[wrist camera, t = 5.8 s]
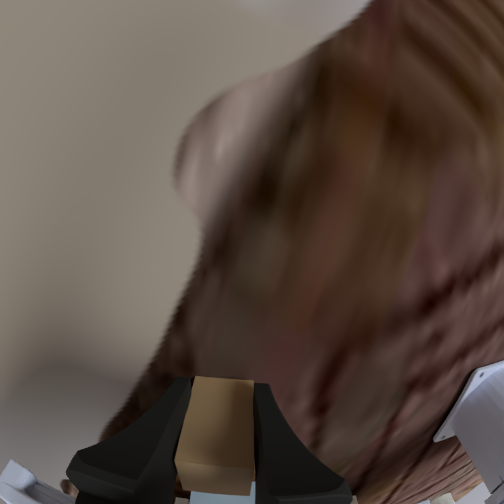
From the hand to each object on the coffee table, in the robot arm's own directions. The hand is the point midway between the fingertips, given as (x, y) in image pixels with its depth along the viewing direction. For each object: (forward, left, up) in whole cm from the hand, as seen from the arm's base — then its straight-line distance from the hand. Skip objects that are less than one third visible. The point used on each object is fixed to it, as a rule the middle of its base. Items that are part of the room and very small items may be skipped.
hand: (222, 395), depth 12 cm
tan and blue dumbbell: (0, +9, -1) cm, 9 cm away
